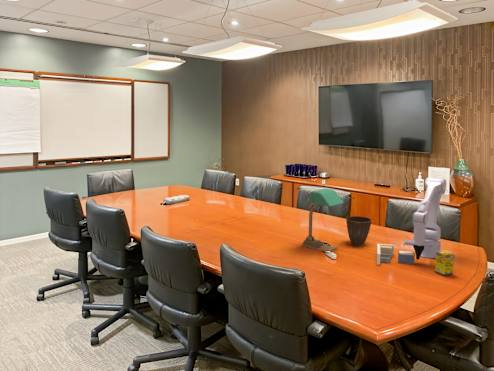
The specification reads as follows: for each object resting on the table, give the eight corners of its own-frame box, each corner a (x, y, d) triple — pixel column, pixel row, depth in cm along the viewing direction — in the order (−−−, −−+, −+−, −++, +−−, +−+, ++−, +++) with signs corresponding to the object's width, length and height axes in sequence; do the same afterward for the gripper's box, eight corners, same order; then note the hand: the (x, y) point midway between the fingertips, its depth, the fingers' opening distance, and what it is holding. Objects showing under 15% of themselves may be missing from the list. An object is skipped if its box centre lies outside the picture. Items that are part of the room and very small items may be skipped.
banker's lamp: (313, 241, 267) (315, 186, 262) (342, 249, 253) (345, 190, 247) (298, 247, 256) (299, 189, 250) (327, 255, 242) (329, 194, 236)
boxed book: (413, 261, 231) (414, 252, 230) (414, 264, 227) (414, 254, 226) (397, 260, 233) (398, 250, 232) (398, 263, 229) (398, 253, 228)
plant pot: (374, 244, 262) (375, 218, 260) (363, 249, 251) (364, 223, 249) (352, 239, 272) (353, 215, 270) (340, 244, 261) (341, 219, 259)
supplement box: (444, 276, 210) (445, 254, 208) (434, 272, 216) (436, 251, 214) (452, 274, 212) (454, 253, 211) (443, 270, 218) (444, 249, 216)
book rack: (393, 255, 242) (393, 245, 241) (394, 266, 224) (395, 255, 223) (376, 253, 244) (377, 243, 243) (376, 264, 226) (377, 253, 225)
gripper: (405, 235, 224) (403, 260, 226) (435, 237, 220) (433, 262, 222) (404, 231, 231) (402, 255, 233) (433, 233, 227) (431, 258, 229)
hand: (417, 259), depth 228 cm, fingers closed
